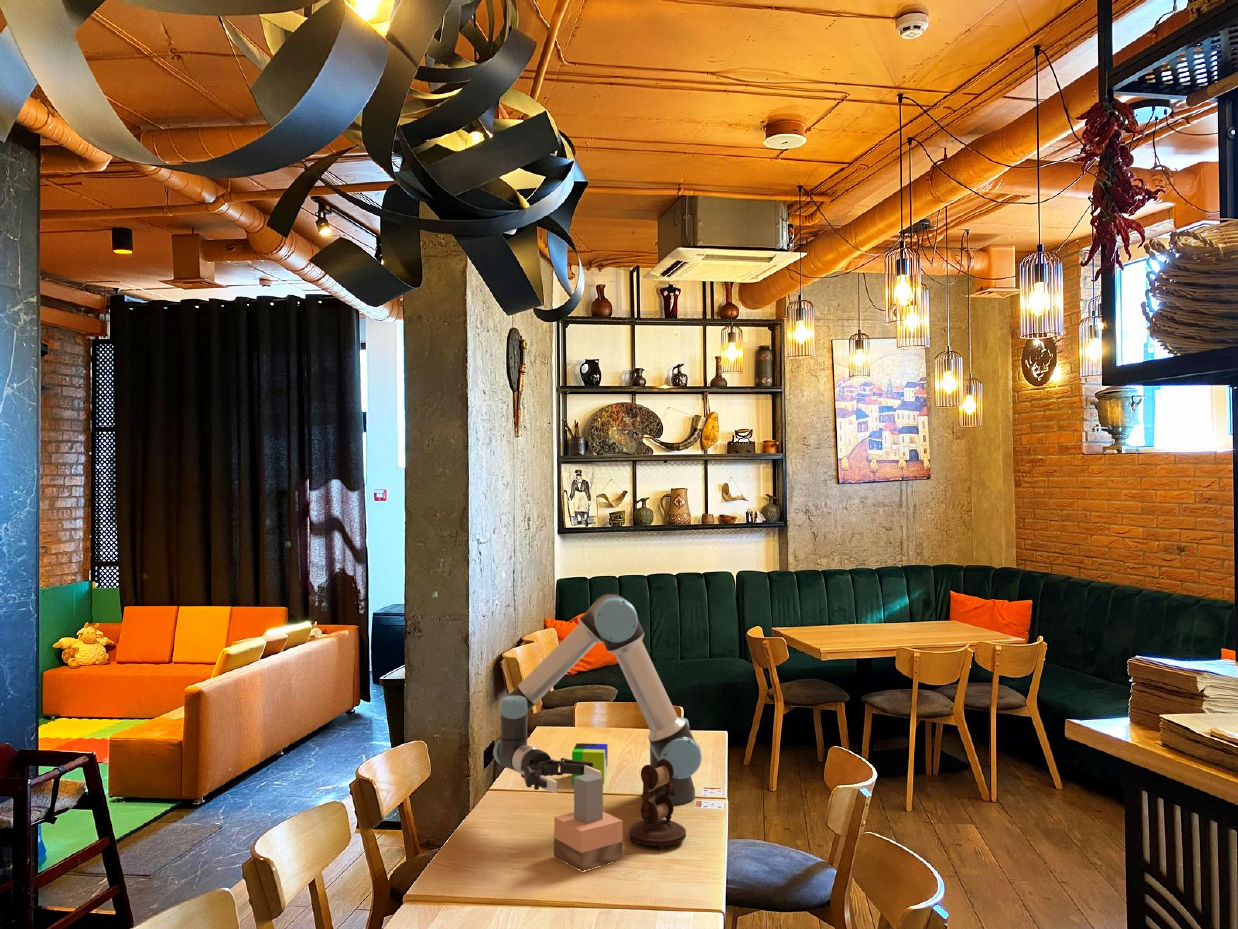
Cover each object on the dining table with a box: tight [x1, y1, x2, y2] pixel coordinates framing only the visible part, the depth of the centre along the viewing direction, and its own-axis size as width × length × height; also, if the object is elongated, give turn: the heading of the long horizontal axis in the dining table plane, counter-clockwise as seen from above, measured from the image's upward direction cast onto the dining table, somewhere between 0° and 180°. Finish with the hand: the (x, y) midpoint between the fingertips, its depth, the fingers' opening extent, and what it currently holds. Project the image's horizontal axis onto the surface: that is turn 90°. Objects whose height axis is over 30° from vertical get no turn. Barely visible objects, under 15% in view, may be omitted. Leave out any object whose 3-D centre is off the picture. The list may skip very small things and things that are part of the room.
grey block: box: [573, 773, 604, 824], centre depth 217 cm, size 5×5×10 cm
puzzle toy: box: [571, 742, 609, 785], centre depth 279 cm, size 10×10×10 cm
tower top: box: [553, 811, 623, 853], centre depth 216 cm, size 12×12×5 cm
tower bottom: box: [553, 838, 623, 871], centre depth 216 cm, size 12×12×5 cm
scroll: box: [628, 759, 687, 851], centre depth 228 cm, size 15×15×20 cm
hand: (578, 782), depth 220 cm, fingers open, 13 cm apart
